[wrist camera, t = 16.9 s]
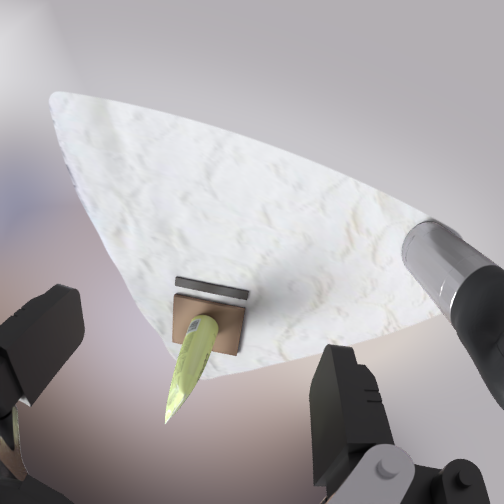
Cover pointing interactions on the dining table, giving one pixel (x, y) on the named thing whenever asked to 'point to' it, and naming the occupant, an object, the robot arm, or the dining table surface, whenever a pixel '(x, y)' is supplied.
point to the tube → (191, 361)
